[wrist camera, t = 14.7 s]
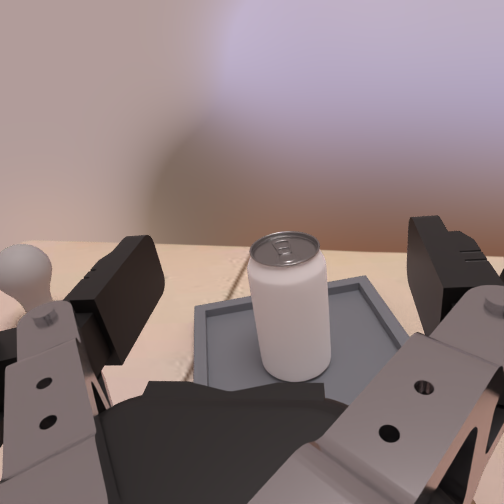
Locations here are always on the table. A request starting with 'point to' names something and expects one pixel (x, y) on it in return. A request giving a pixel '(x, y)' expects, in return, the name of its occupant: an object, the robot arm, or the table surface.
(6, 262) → the lightbulb
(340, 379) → the tray
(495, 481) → the table surface
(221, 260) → the table surface
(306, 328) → the can
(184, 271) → the table surface
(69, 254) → the table surface
